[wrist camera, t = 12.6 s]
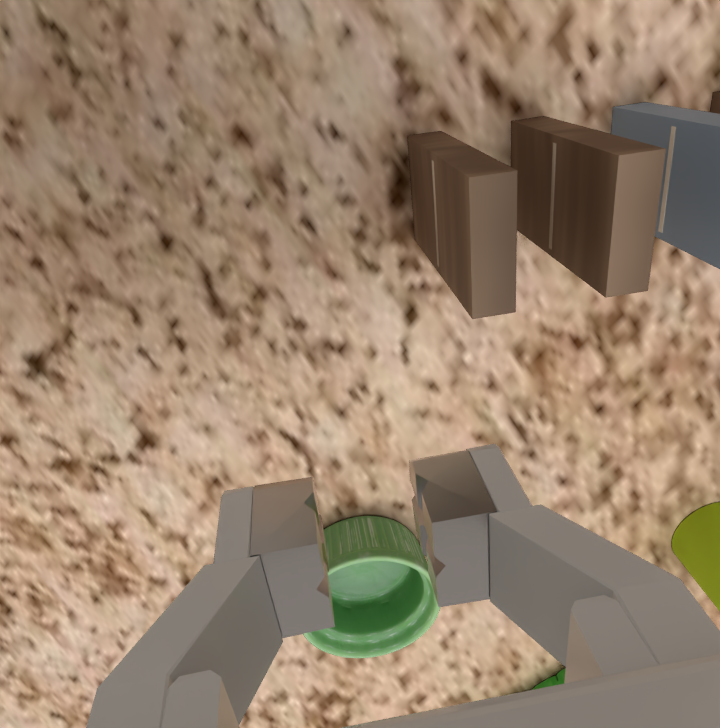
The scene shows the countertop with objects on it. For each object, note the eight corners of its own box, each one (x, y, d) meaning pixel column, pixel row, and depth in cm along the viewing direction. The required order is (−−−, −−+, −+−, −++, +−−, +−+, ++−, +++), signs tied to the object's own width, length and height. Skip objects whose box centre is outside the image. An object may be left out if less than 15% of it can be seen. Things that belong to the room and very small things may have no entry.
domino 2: (510, 225, 30) (605, 297, 22) (511, 120, 28) (618, 155, 19) (540, 220, 31) (648, 290, 22) (544, 116, 28) (666, 148, 19)
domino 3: (604, 210, 31) (735, 277, 22) (612, 107, 28) (763, 135, 20) (634, 206, 31) (777, 270, 22) (645, 101, 28) (810, 128, 20)
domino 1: (414, 239, 30) (472, 319, 21) (407, 135, 28) (468, 177, 19) (445, 234, 30) (515, 312, 22) (440, 131, 28) (517, 170, 19)
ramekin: (417, 493, 38) (433, 543, 34) (433, 587, 43) (448, 641, 39) (281, 523, 38) (281, 577, 34) (310, 615, 42) (313, 672, 39)
